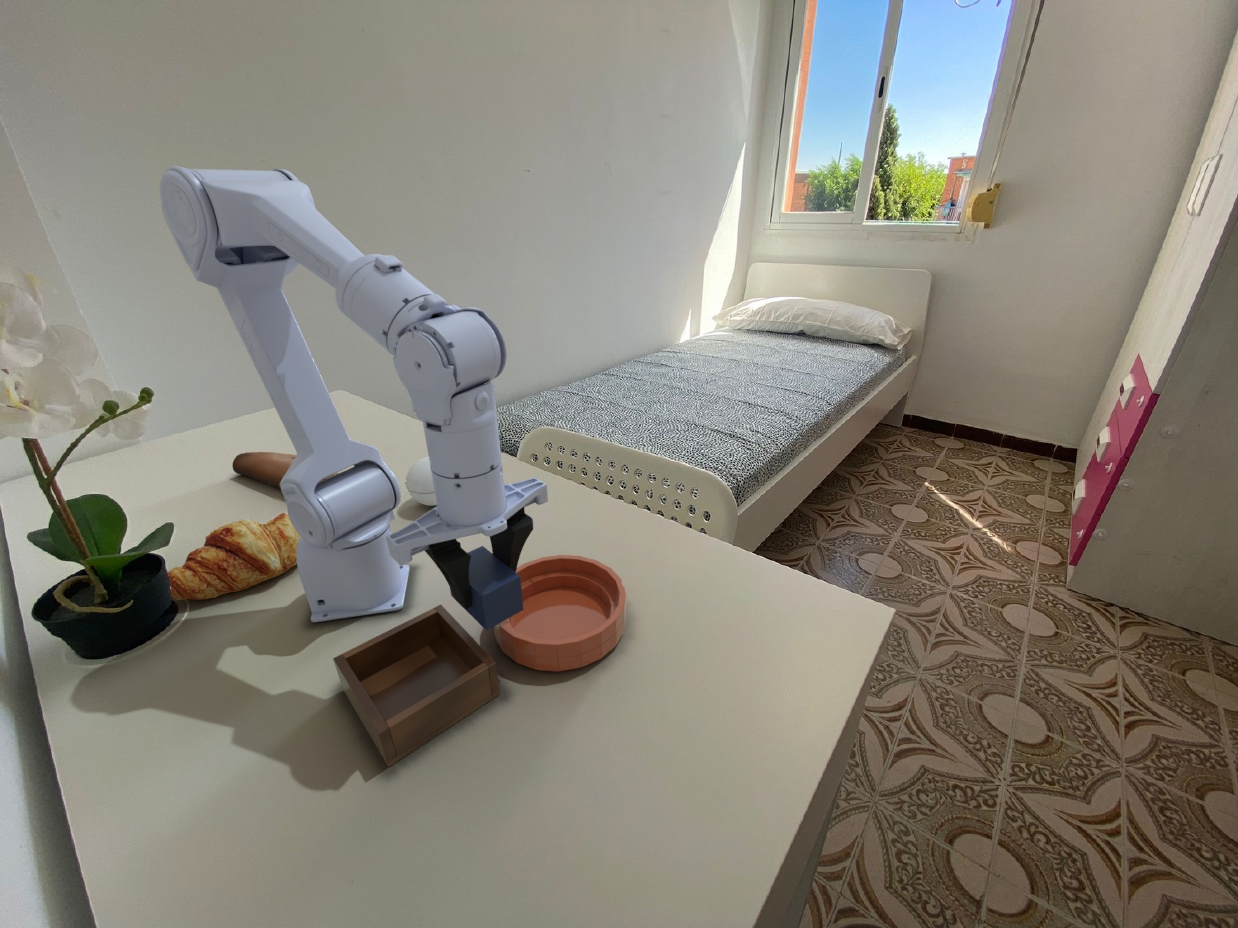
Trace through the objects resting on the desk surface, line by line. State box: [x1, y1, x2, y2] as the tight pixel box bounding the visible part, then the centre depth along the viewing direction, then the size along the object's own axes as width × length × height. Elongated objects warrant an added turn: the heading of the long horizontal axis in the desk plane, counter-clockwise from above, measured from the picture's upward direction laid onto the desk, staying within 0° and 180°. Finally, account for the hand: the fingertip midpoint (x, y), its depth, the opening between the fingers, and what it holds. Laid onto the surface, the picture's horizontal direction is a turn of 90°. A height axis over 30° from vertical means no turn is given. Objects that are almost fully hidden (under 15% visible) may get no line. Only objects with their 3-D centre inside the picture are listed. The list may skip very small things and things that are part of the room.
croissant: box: [166, 512, 301, 601], centre depth 67 cm, size 21×10×8 cm, turn 141°
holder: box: [332, 604, 501, 768], centre depth 50 cm, size 11×11×4 cm
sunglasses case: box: [232, 451, 340, 490], centre depth 88 cm, size 18×7×7 cm, turn 62°
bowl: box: [493, 554, 627, 672], centre depth 58 cm, size 14×14×4 cm
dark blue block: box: [449, 545, 523, 631], centre depth 51 cm, size 4×6×4 cm, turn 43°
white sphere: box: [401, 456, 437, 507], centre depth 80 cm, size 10×7×7 cm
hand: (484, 591), depth 51 cm, fingers closed on dark blue block, 4 cm apart
